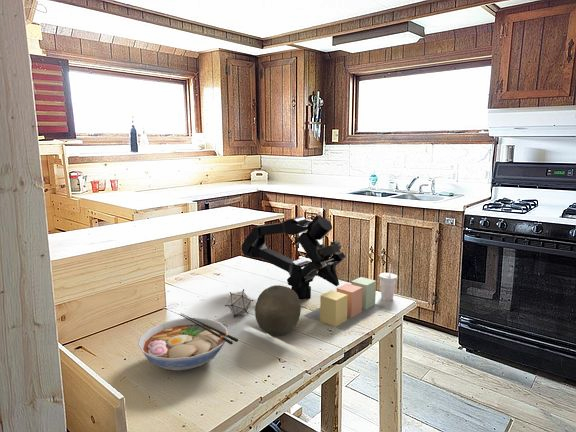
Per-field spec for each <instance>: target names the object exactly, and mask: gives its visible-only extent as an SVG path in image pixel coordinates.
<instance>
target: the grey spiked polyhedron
mask: <svg viewBox="0 0 576 432" xmlns="http://www.w3.org/2000/svg"><path fill="white" fill-rule="evenodd" d="M244 291H245V289H244V288H243V289H242V291H238V292H234V293H233V292H231V291H229V294H230V296H229V299H228V301H227V304H225V305H224V307H227V308H228V309H229V310H230V311H231V313H232V314H233V318H236V316H237V315H238V316H239V315H241V314H242V315H243V314H245V313H246V314H247V315H249V308H250V305H251V303H252V302H254V299H251V298H250V297H249V296H248V295H247V294H246V293H245V292H244Z"/></svg>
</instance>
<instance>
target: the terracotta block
mask: <svg viewBox="0 0 576 432" xmlns="http://www.w3.org/2000/svg"><path fill="white" fill-rule="evenodd" d="M336 292H340V293H343V294H347V295H348V297H347V316H348V317H351V318H352V317H354V316H355V315H357V314H359V313H361V312H362V287H359V286H355V285H352V284H351V283H345V284H342V285H339V286H337V287H336Z"/></svg>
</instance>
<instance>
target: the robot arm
mask: <svg viewBox="0 0 576 432" xmlns="http://www.w3.org/2000/svg"><path fill="white" fill-rule="evenodd" d="M332 229H333V225H332V223H331V221H330V220H328V219H327V218H325V217H323V216H322V215H321V214H317V215H315V216H314V217H313V219H312V220H307V219H306V218H305V217H304V216H296V217H293V218H289V219H285V220H284V221H282V222H277V223H270V224H260V225H255V226H254V227H252V229H251V232H250V233H249V234H248V235H247V237H246V238H245V239H244V240H243V242H242V244H241V249H240V250H241V252H242V254H243V255H244V256H246V257H249V258H255V259H256V258H257V259H261V260H263V261H265V262H268V263H269V264H271V265H274V266H275V267H277V268H279V269H281V270H283V271H285V272H287V273H288V275H289V277H288V278H287V279H286V281H287V285H288V286H290V288H291V289H292V290H294V291H295V293H296V294H297V295H298V297H299V300H307V299H308V300H309V299H311V298H312V287H311V285H310V283H311V282H313V281H314V278H315V277H319V278H322V279H323V280H325V281H327V282H328V283H330V284H332V285H333V286H334V287H339V286H340V281H339V278H338V274H337V270H336V268H337V266H338V265H339V264H340V263H341V262H342V261H343V260H345V259H346V257H347V256H346V254H345V253H344V252H342V251H341V248H342V245H341V243H340V242H339V241H338V240H334V241H331V242H330V244H329V245H327V246H326V245H325V244H324V243H322V244H321V243H320V242H319V241H321V240H323V238H324V237H325V236H326V235H327V234H329V232H331V230H332ZM275 234H284V235H290V236H294V235H295V236H294V241H293V242H294V243H293V245H295V246H296V245H301V247H302V249H303V250H304V252H305V253H306V254H305V258H306V259H305V258H303V257H301V258H298V259H296V260H294V259H292V258H290V257H288V256H286V255H283V254H282V253H280V252H277V251H275V250H273V249H271V248H269V247H267V245H266V236H269V235H275ZM298 234H300V235H298ZM296 235H298V236H296ZM307 259H309V260H307Z"/></svg>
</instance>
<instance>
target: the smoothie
mask: <svg viewBox="0 0 576 432" xmlns="http://www.w3.org/2000/svg"><path fill="white" fill-rule="evenodd" d="M388 268H389V270H388V272H382V273H379V276H378V279H379V283H380V293H381V299H382V300H384V301H393V300H394V296H395V291H396V290H395V289H396V284H397V280H398V274H395V273H392V272H391V271H392V264H391V263H389V267H388Z"/></svg>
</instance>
